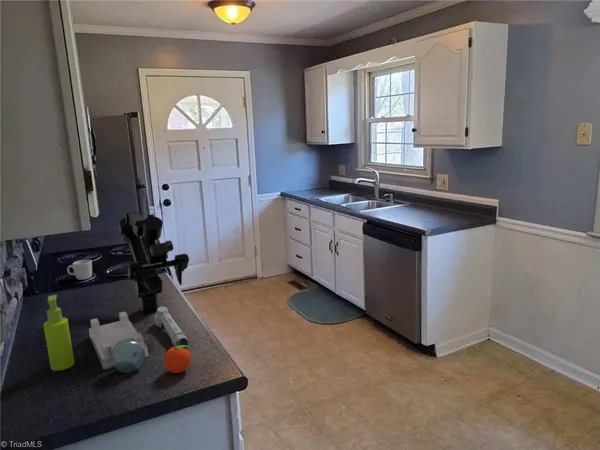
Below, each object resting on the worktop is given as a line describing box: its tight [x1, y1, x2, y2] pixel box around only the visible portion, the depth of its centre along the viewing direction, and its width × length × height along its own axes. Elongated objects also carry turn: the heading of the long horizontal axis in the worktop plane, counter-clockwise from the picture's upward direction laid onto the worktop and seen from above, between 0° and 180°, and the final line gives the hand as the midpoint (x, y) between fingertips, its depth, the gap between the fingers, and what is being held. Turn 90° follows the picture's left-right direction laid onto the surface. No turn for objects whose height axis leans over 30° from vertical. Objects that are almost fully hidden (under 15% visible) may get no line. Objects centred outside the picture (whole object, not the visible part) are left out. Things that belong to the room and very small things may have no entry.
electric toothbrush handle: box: [153, 306, 190, 349], centre depth 138 cm, size 5×7×25 cm
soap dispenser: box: [43, 294, 75, 372], centre depth 120 cm, size 6×7×20 cm
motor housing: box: [88, 311, 149, 374], centre depth 128 cm, size 31×12×8 cm, turn 33°
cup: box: [66, 259, 93, 281], centre depth 200 cm, size 11×8×8 cm
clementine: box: [163, 345, 193, 374], centre depth 115 cm, size 8×7×7 cm
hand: (166, 287), depth 135 cm, fingers open, 9 cm apart
